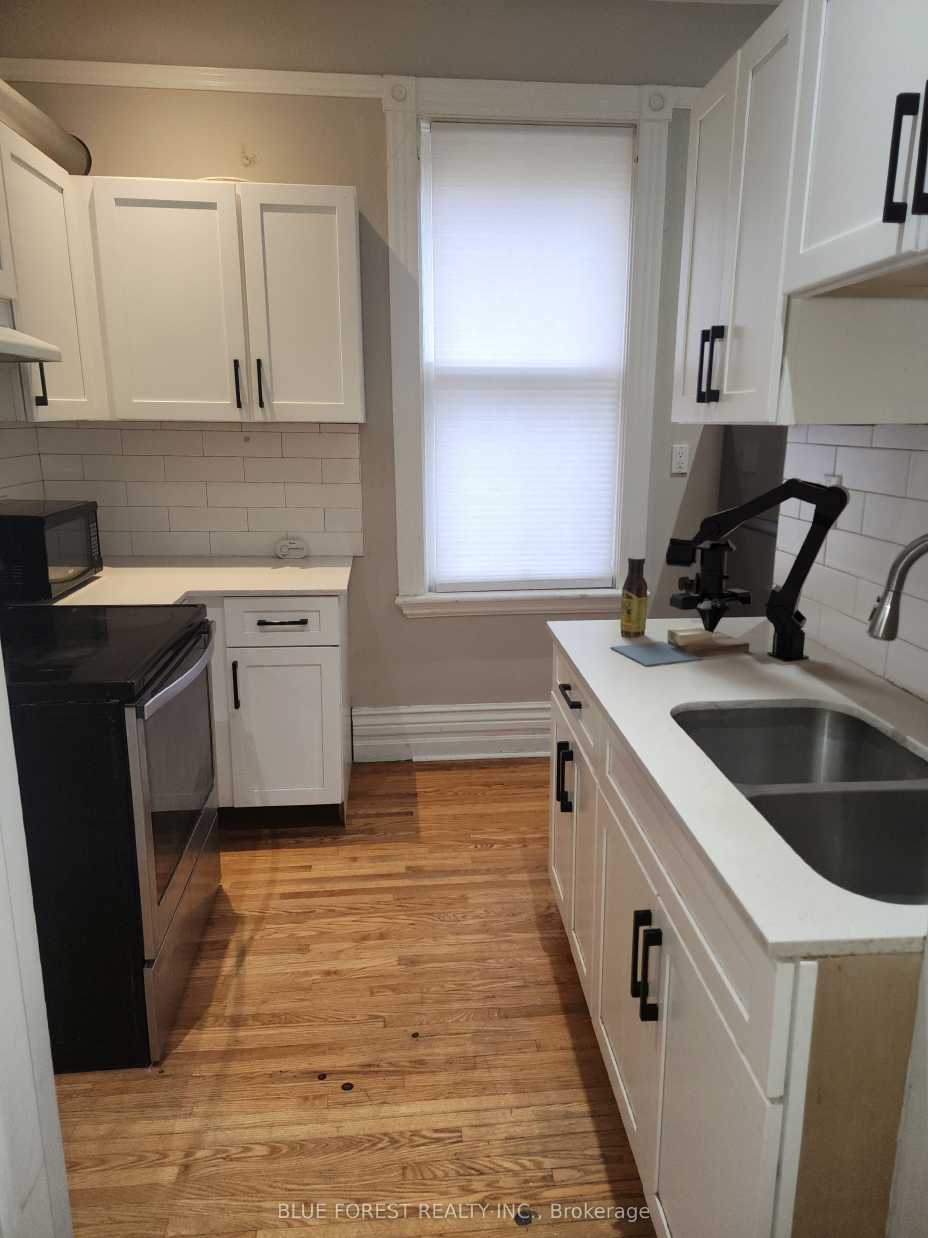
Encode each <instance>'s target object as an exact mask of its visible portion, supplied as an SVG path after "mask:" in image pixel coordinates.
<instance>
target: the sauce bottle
mask: <svg viewBox="0 0 928 1238" xmlns="http://www.w3.org/2000/svg"><path fill="white" fill-rule="evenodd" d="M645 563H646V557H644V556H639V555H638V556H637V555H633V556H632V555H631V556H629V557H628V559H627V565H628V569H627V575H626V578H625V580H624V582H623V586H622V587H621V601H620V602H621V603H620V604H621V606H620V622H619V623H620V625H619V628H620V635H622V636H624V637H626V638H640V637H641V636H642V637H644V636H645V634H646V627H647V625H646V624H647V608H648V583H647V581H646V579H645V577H644V574H645V573H644V571H645V569H644V568H645ZM642 637H641V638H642Z"/></svg>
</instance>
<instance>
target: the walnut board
mask: <svg viewBox="0 0 928 1238" xmlns="http://www.w3.org/2000/svg"><path fill="white" fill-rule="evenodd" d="M667 644H670V645H672V646H674V647H676V648H679V649H681V650H683V651H686V652H688V653H690V654H692V655H695V656H697V657H699V658H705V657H714V656H720V655H721V656H723V655H730V654H741V653H748V652H750V642H747V641H745V640H742V639H739V638H737V637H733V636H731V635H728V634H725V633H723V632H721V631H719V630H718V631H714V632H713V633H712V643H707V644H696V645H684V646H679V645H677V644H675V643H673V642H671V641H669V640H667Z"/></svg>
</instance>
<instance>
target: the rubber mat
mask: <svg viewBox="0 0 928 1238" xmlns="http://www.w3.org/2000/svg"><path fill="white" fill-rule="evenodd" d="M612 649H613V651H614V650H615V651H614V652H616V651H617V652H616V653H618V652H619V653H618V654H620V653H621V654H620V655H622V656H624V657H626V658H628V659H630V660H632V661H634V662H636V663H638V664H640V665H642V666H644V667H646V666H647V667H655V666H654V665H656V666H662V665H661V664H664V665H670V664H679V663H681V664H682V663H689V662H696V661H695V660H698V661H701V660H702V657H697V656H695V655H692V654H690V653H688V652H686V651H683V650H681V649H679V648H676V647H674V646H672V645H670V644H668V642H666V641H651V642H644V643H635V644H634V643H633V644H626V645H615V646H610V650H612ZM688 661H689V662H688Z"/></svg>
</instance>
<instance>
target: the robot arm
mask: <svg viewBox="0 0 928 1238" xmlns="http://www.w3.org/2000/svg"><path fill="white" fill-rule="evenodd" d="M791 498H792V499H793V498H794V499H796V500H799V501H802V502H805V503H808V504H812V505H814V511H813V516H812V521H811V526H810V527H809V529H808V532H807V534H806V535H805V536H806V537H805V538H804V541H803V543H802V545H801V547H800V549H799V551H798V553H797V556H796V558H795V560H794V561H793V564H792V566H791V568H790V570H789V573H788V575H787V577H786V579H785V581H784V583H783V584H782V586H780V585H778V584H776V585H775V586H774V587H773V588H772V589H771V591H770V594H769V599H768V601H767V602H766V603H765V604H764V607H766V609H765V616H766V618H767V620H768V622H770V624H772V626H773V628H774V631H773V634H772V649H771V650H772V651H767V652H766V655H768V656H769V657H773V658H774V659H778V660H781V661H783V662H793V661H800V660H808V659H809V658H810V656H809V655H806V654H804V652H805V651H804V650H805V640H806V638H805V637H806V632H804V630H803V628H804V627H805V625H806V623H807V620H808V619H807V618H806V616H805V615H804V614H803V613H802V612H801V611H800V610H799V606H800V605H799V604H800V601H801V598H802V596H801V595H802V592H803V588H804V584H805V582H806V580H807V578H808V577H809V574H810V572H811V570H812V567H813V566H814V564H815V561H816V559H817V558H818V555H819V553H820V550H821V549H822V547H823V544H824V543H825V540H826V538H827V537H828V535H829V532H830V530H831V528H832V527H833V526H834V525H835V523H836V521H838V519H839V517H840V516H841V515H842V513H843V512H844V511H845V509H846V508H847V507H848V505H849V503H850V501H851V493H850V492H849V489H848V488H847V487H846V486H844V485H841V484H837V483H836V484H831V485H824V484H820V483H815V482H811V481H807V480H804V479H801V478H799V477H791V478H789V479H786V480H785V481H784V482H783V483H781V484H780V485H777V486H776V487H774V488H772V489H769V490H768V491H766V492H764V493H762V494H760V495H758V496H756V497H754V498H752V499H750V500H748V501H746V502H745V503H743V504H741V505H738V506H736V507H732V508H730V509H725V510H723V511H721V512H720V511H719V512H716V513H713V514H711V515H709V516H706V517H704V518H703V519H702V521H701V522H700V525H699V530H698V531H697V532H696V533H695V535H694V536H693V537H692V538H681V537H676V536H673V537H670V538H669V544H668V546H667V550H666V552H665V562H666V566H667V567H677V568H690V569H693V567H694V566H695V564H699V571H696V572H695V574H694V576H695V577H694V578H691V579H690V578H689V576H688V575H687V576H680V577H678V582H677V586H678V587H677V588H678V590H679V591H680V593H672V595H671V596H670V598H669V606H670V607H673V608H676V609H679V610H681V611H690V610H696V612H698V615H699V617H700V619H701V623H702V625H703V629H705V630H707V631H709V632H712V633H713V632H715V630H716V628H717V627H718V625H719V623H720V621H722V619H723V617H724V616H725V614H726V612H727V611H728V610H731V606H728V602H737V603H739V605H741V606H743V605H745V606H746V605H752V602H753V595H752V594H751V592H750V591H748V590H745V589H742V588H728V589H725V588H726V587H725V585H726V580H729V577H730V576H729V575H730V574H727V573H726V571H727V569H726V568H727V555H728V554H727V553H728V552H731V553H732V552H734V551H735V550H737V546H736V545H735V544H733V543H732V541H731V540H730V539H727V540H726V541H725V542H716V541H719V540H722V539H723V538H724V537H726V536H728V535H729V534H730V533H731V532H733V531H734V530H735V529H736V528H738V527H739V526H741V525H742V524H743V523H745V522H746V521H748V520H750V519H751V518H754V517H755V516H758V515H760V514H762V513H764V512H766V511H767V510H770V509H771V508H773V507H776V506H778V505H780V504H781V503H784V502H787V501H788V500H790V499H791ZM708 541H709V542H711V543H710V544H709V545H702V544H704V543H706V542H708ZM682 591H683V592H682ZM681 592H682V593H681ZM692 594H693V595H692Z"/></svg>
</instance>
